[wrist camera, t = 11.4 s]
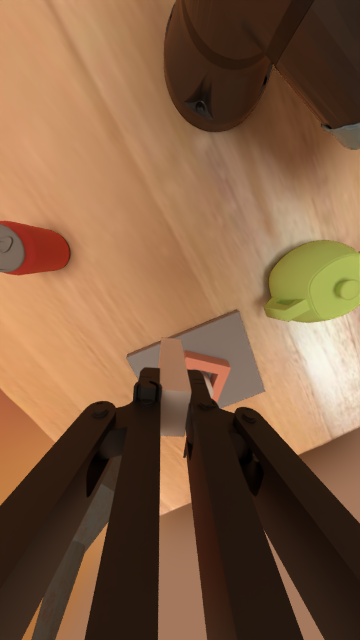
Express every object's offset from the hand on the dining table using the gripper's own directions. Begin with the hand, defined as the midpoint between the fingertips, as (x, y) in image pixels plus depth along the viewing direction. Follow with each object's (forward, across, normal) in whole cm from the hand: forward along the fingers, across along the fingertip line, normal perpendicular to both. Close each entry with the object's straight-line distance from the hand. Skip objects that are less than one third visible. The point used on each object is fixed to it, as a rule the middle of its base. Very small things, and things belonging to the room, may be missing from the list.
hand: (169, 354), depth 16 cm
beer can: (+25, -20, +6) cm, 32 cm away
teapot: (+25, +25, +6) cm, 36 cm away
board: (+24, +9, -16) cm, 30 cm away
